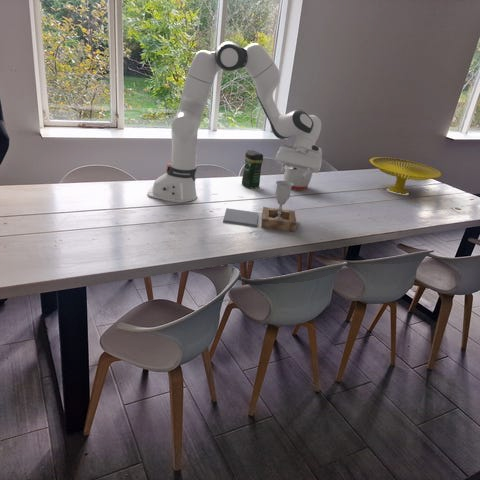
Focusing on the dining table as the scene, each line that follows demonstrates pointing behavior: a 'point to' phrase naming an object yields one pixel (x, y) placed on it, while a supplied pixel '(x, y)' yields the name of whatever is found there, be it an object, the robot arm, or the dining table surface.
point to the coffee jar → (252, 169)
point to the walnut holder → (279, 224)
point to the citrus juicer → (297, 177)
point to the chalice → (282, 194)
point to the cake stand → (403, 172)
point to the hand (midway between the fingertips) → (292, 175)
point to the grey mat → (240, 217)
